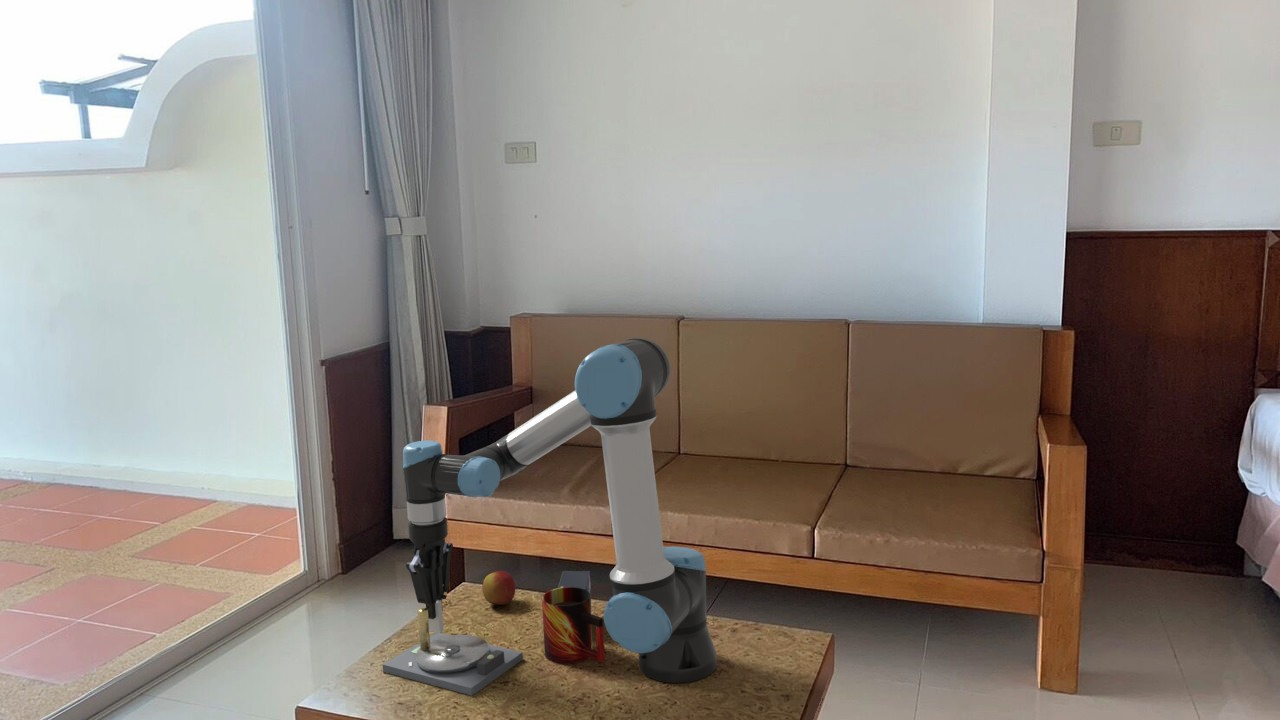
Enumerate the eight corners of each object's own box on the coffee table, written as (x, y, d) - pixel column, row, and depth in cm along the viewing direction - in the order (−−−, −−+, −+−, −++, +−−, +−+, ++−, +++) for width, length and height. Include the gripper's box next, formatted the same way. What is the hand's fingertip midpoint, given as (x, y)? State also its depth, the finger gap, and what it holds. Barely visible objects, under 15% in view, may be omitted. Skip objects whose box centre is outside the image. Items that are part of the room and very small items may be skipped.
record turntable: (522, 659, 185) (521, 639, 184) (471, 695, 171) (470, 674, 170) (437, 638, 195) (436, 620, 195) (383, 671, 181) (381, 651, 181)
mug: (603, 668, 180) (601, 609, 178) (537, 661, 184) (534, 603, 182) (618, 646, 189) (616, 590, 187) (555, 640, 193) (552, 585, 191)
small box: (589, 635, 194) (587, 588, 193) (558, 636, 194) (556, 589, 193) (592, 615, 205) (590, 569, 203) (563, 615, 205) (561, 570, 203)
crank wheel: (435, 638, 191) (432, 595, 190) (499, 642, 188) (496, 599, 187) (404, 670, 177) (400, 624, 176) (472, 675, 174) (469, 628, 173)
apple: (521, 598, 215) (519, 565, 214) (509, 612, 207) (508, 578, 206) (490, 597, 217) (488, 564, 215) (477, 611, 209) (475, 577, 208)
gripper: (430, 507, 191) (438, 615, 194) (391, 528, 179) (401, 642, 183) (461, 510, 188) (469, 620, 192) (424, 531, 176) (433, 647, 180)
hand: (436, 631), depth 187 cm, fingers closed
